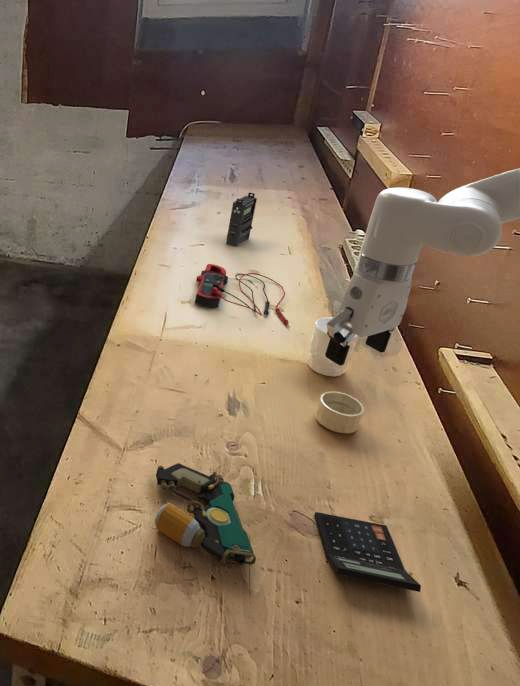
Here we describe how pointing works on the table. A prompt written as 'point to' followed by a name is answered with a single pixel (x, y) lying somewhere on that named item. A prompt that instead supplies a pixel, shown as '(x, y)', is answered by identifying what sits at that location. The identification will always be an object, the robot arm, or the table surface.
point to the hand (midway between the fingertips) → (354, 354)
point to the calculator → (362, 551)
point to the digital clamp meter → (213, 288)
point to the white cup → (319, 348)
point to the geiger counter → (241, 219)
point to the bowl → (339, 412)
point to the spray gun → (203, 515)
